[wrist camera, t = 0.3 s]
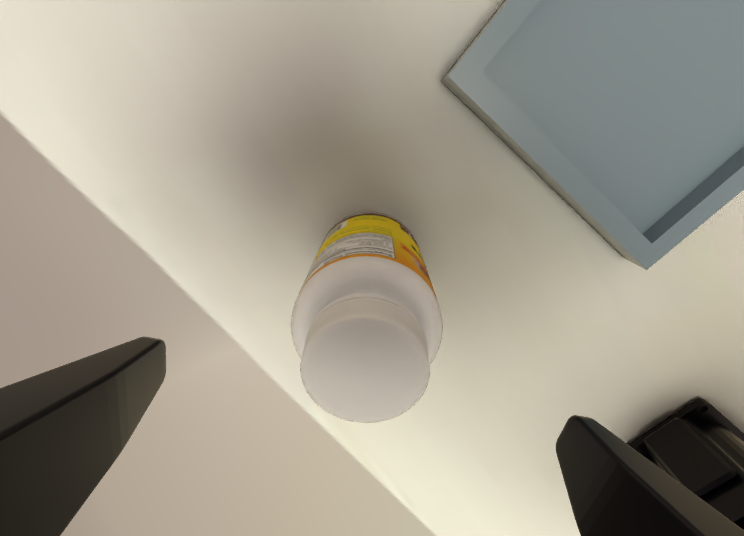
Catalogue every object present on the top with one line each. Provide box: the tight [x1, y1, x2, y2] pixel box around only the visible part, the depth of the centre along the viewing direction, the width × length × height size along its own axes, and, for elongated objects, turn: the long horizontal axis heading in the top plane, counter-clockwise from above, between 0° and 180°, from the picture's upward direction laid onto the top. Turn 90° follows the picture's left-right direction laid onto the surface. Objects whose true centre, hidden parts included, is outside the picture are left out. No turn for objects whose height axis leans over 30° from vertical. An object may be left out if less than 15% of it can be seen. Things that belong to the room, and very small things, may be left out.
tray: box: [441, 0, 744, 270], centre depth 15 cm, size 14×14×2 cm
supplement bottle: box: [291, 212, 443, 423], centre depth 15 cm, size 6×6×10 cm
